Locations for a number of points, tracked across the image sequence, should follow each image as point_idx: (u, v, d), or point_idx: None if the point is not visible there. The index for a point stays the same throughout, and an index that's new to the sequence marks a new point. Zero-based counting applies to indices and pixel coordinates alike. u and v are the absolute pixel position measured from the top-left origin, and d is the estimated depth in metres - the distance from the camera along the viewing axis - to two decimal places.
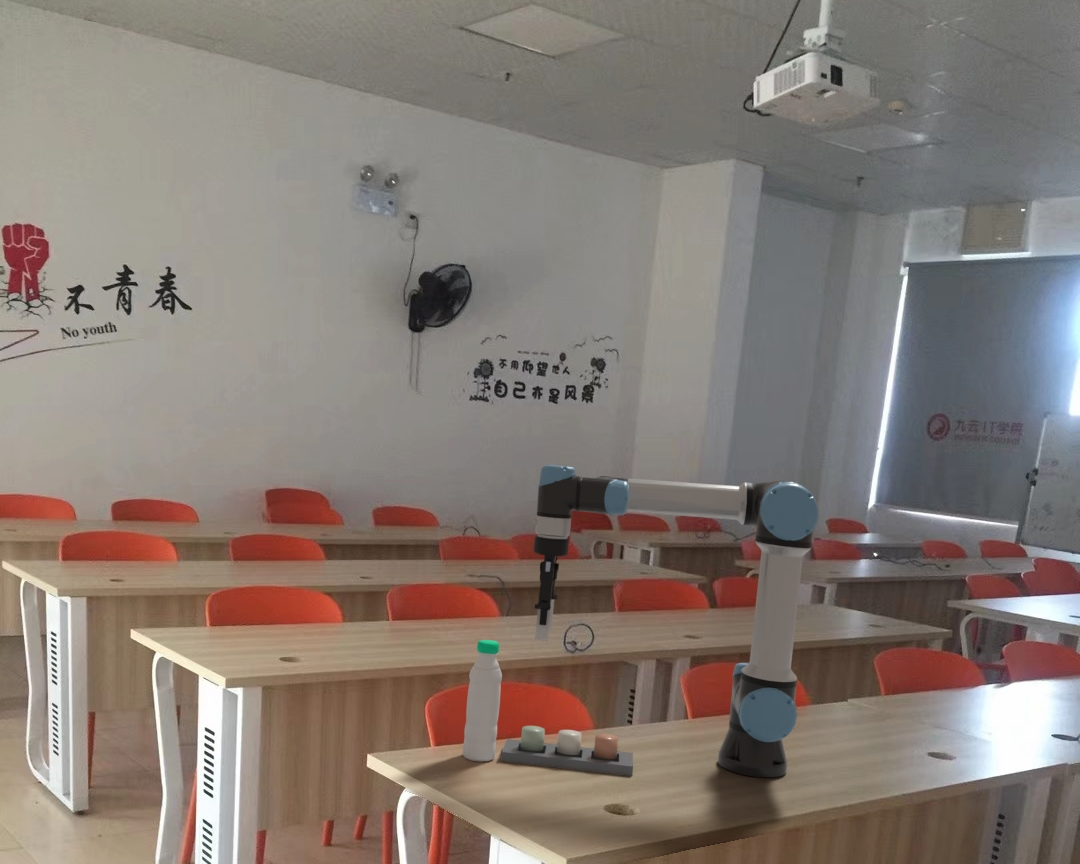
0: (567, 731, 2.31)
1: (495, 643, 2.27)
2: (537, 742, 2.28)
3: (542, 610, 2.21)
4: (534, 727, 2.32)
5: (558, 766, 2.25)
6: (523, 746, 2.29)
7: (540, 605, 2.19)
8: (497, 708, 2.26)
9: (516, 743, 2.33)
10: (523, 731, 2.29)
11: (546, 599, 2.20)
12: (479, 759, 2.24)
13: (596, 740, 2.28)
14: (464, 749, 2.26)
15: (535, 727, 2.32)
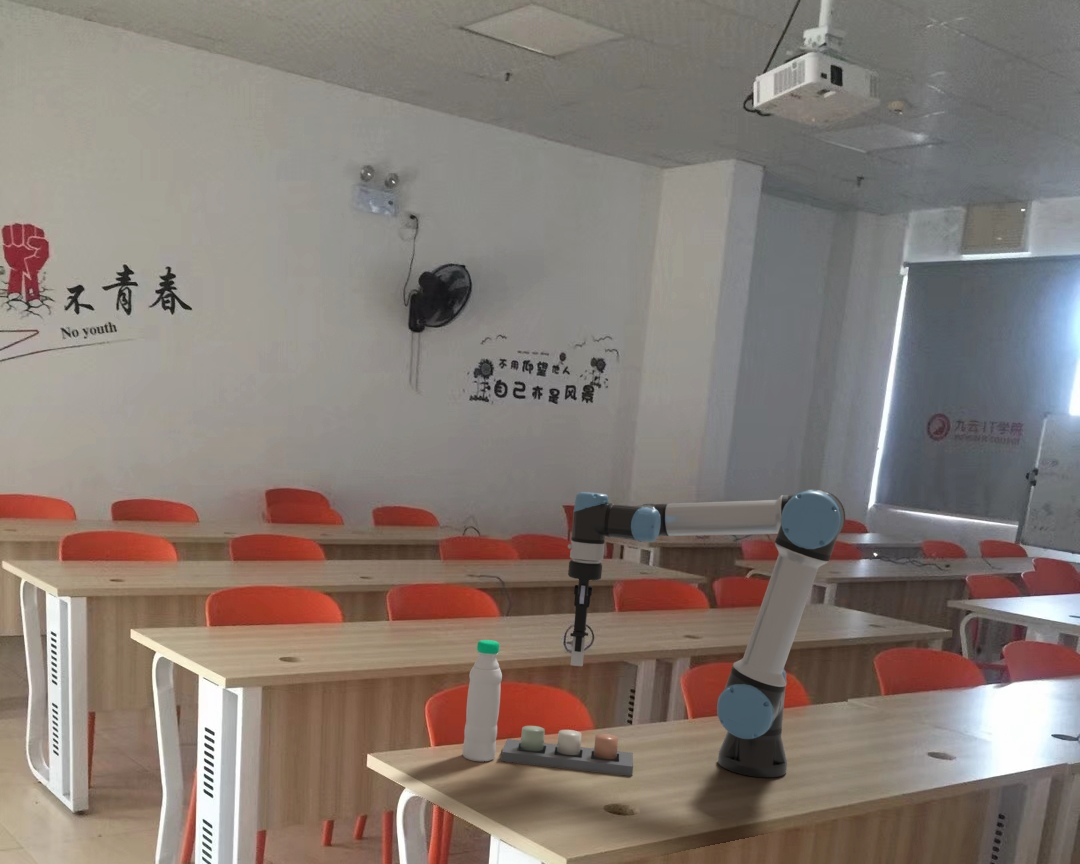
0: (567, 731, 2.31)
1: (495, 643, 2.27)
2: (537, 742, 2.28)
3: (577, 638, 2.37)
4: (534, 727, 2.32)
5: (558, 766, 2.25)
6: (523, 746, 2.29)
7: (575, 633, 2.35)
8: (497, 708, 2.26)
9: (516, 743, 2.33)
10: (523, 731, 2.29)
11: (581, 630, 2.35)
12: (479, 759, 2.24)
13: (596, 740, 2.28)
14: (464, 749, 2.26)
15: (535, 727, 2.32)
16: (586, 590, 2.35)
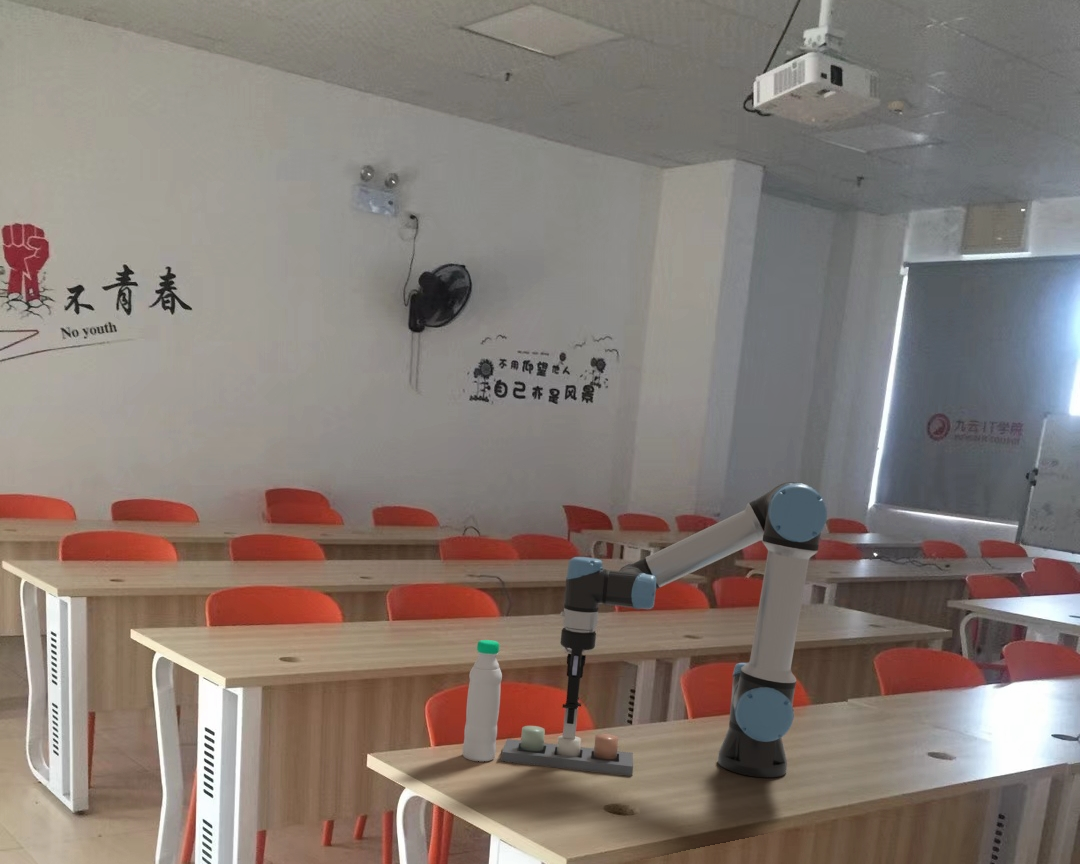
0: None
1: (495, 643, 2.27)
2: (537, 742, 2.28)
3: (570, 709, 2.28)
4: (534, 727, 2.32)
5: (558, 766, 2.25)
6: (523, 746, 2.29)
7: (568, 705, 2.26)
8: (497, 708, 2.26)
9: (516, 743, 2.33)
10: (523, 731, 2.29)
11: (573, 702, 2.26)
12: (479, 759, 2.24)
13: (596, 740, 2.28)
14: (464, 749, 2.26)
15: (535, 727, 2.32)
16: (579, 661, 2.26)
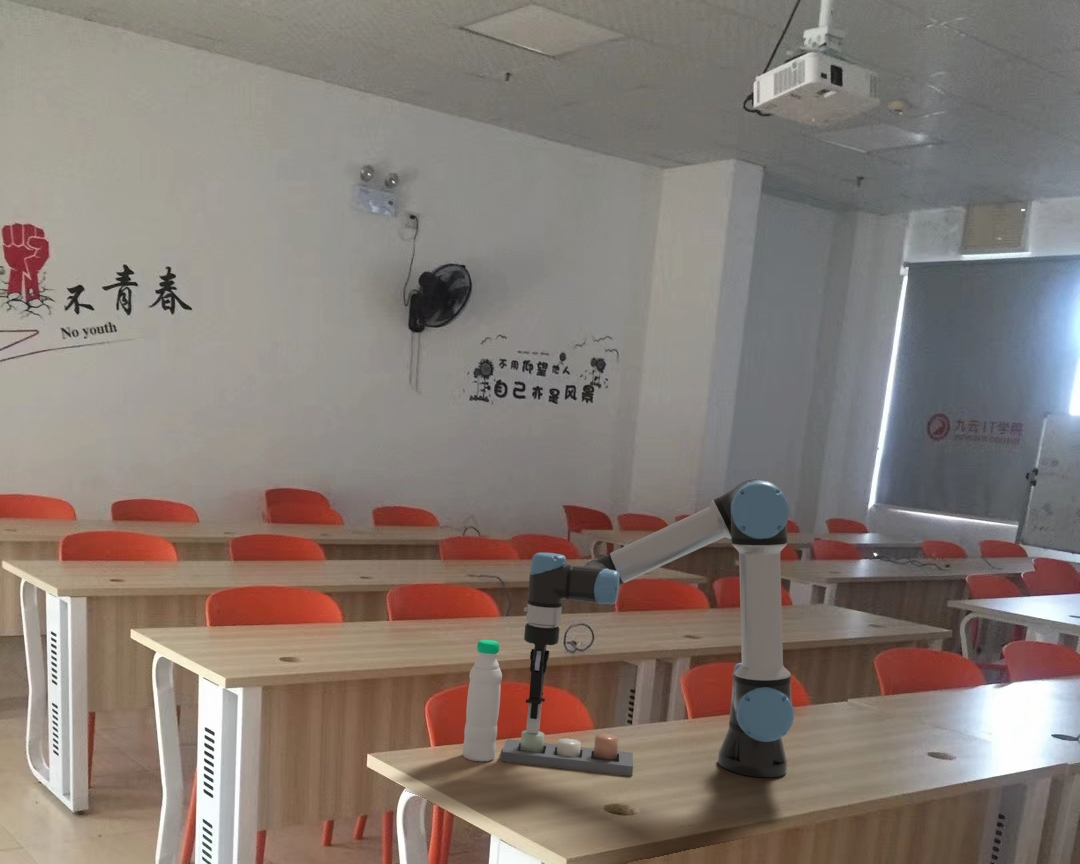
0: (566, 740, 2.31)
1: (495, 643, 2.27)
2: (536, 746, 2.28)
3: (533, 704, 2.29)
4: None
5: (558, 766, 2.25)
6: (523, 750, 2.29)
7: (531, 700, 2.27)
8: (497, 708, 2.26)
9: (516, 743, 2.33)
10: (523, 735, 2.29)
11: (536, 697, 2.27)
12: (479, 759, 2.24)
13: (596, 740, 2.28)
14: (464, 749, 2.26)
15: None
16: (542, 656, 2.27)
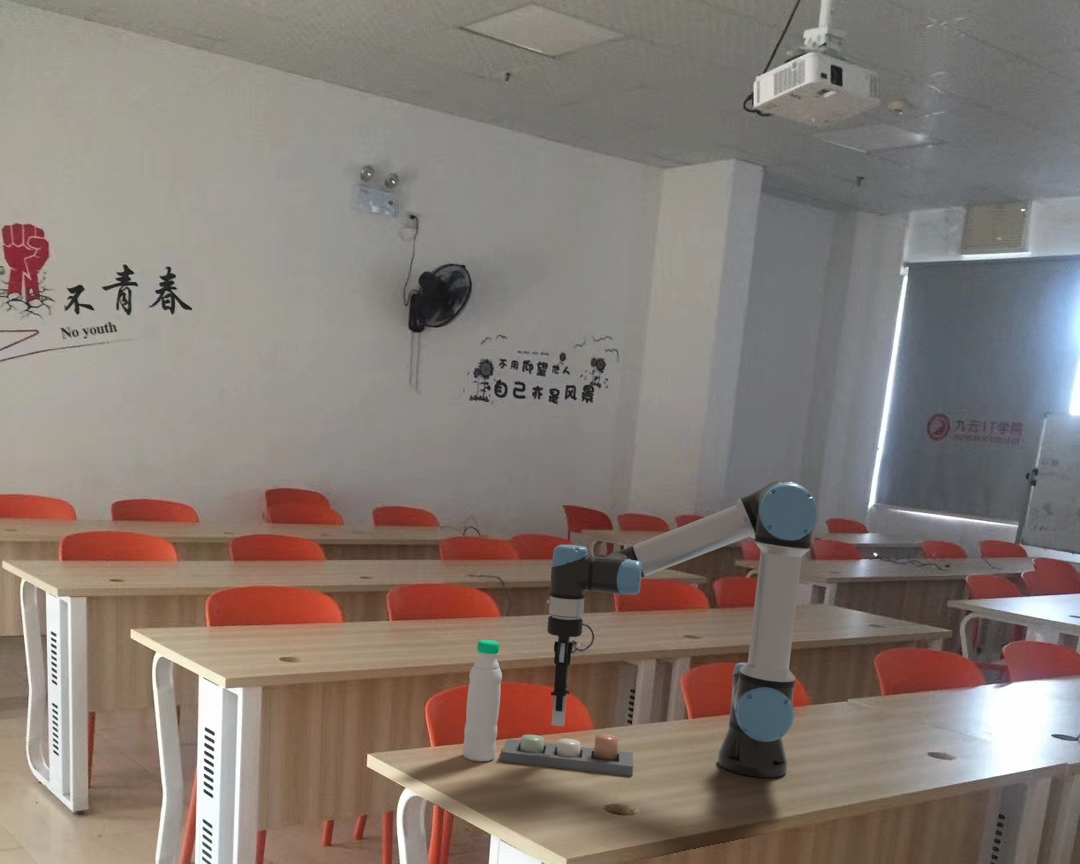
0: (566, 740, 2.31)
1: (495, 643, 2.27)
2: (536, 751, 2.28)
3: (558, 697, 2.28)
4: (533, 736, 2.32)
5: (558, 766, 2.25)
6: None
7: (556, 693, 2.27)
8: (497, 708, 2.26)
9: (516, 743, 2.33)
10: (522, 740, 2.29)
11: (561, 689, 2.26)
12: (479, 759, 2.24)
13: (596, 740, 2.28)
14: (464, 749, 2.26)
15: (534, 736, 2.32)
16: (566, 648, 2.26)
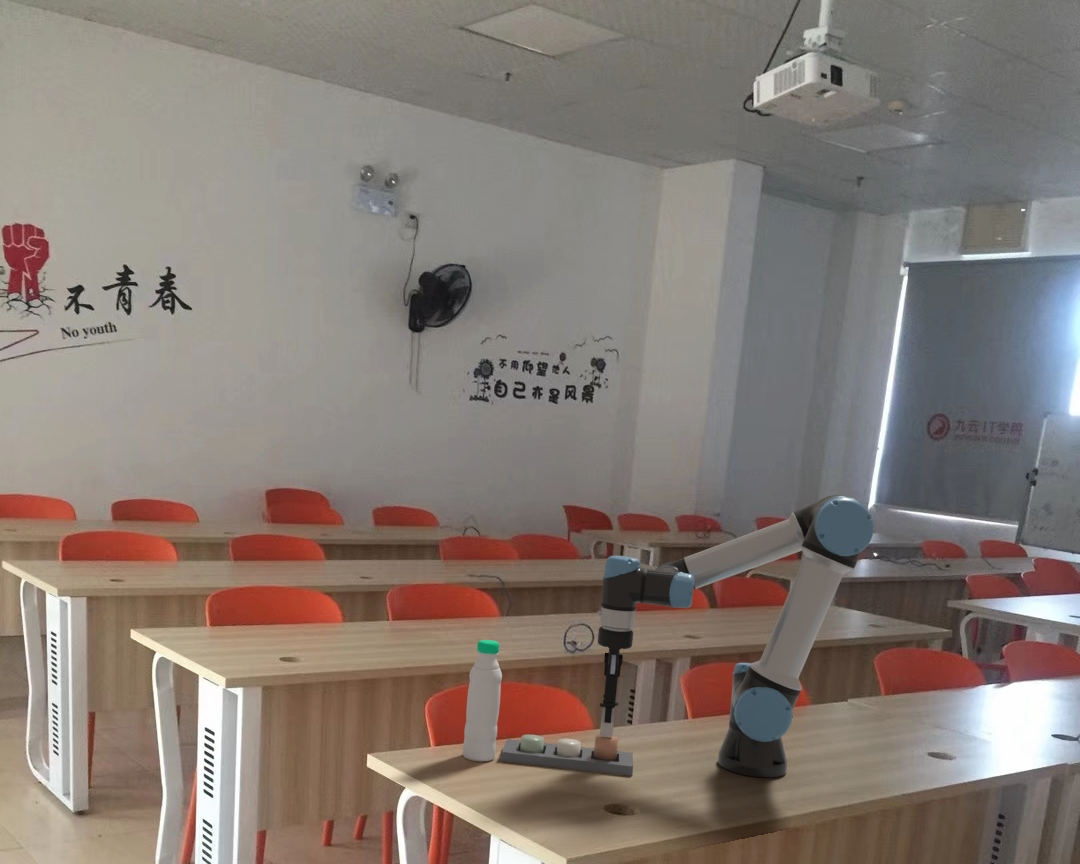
0: (566, 740, 2.31)
1: (495, 643, 2.27)
2: (536, 751, 2.28)
3: (607, 708, 2.27)
4: (533, 736, 2.32)
5: (558, 766, 2.25)
6: None
7: (605, 704, 2.26)
8: (497, 708, 2.26)
9: (516, 743, 2.33)
10: (522, 740, 2.29)
11: (611, 701, 2.25)
12: (479, 759, 2.24)
13: (596, 740, 2.28)
14: (464, 749, 2.26)
15: (534, 736, 2.32)
16: (617, 660, 2.25)
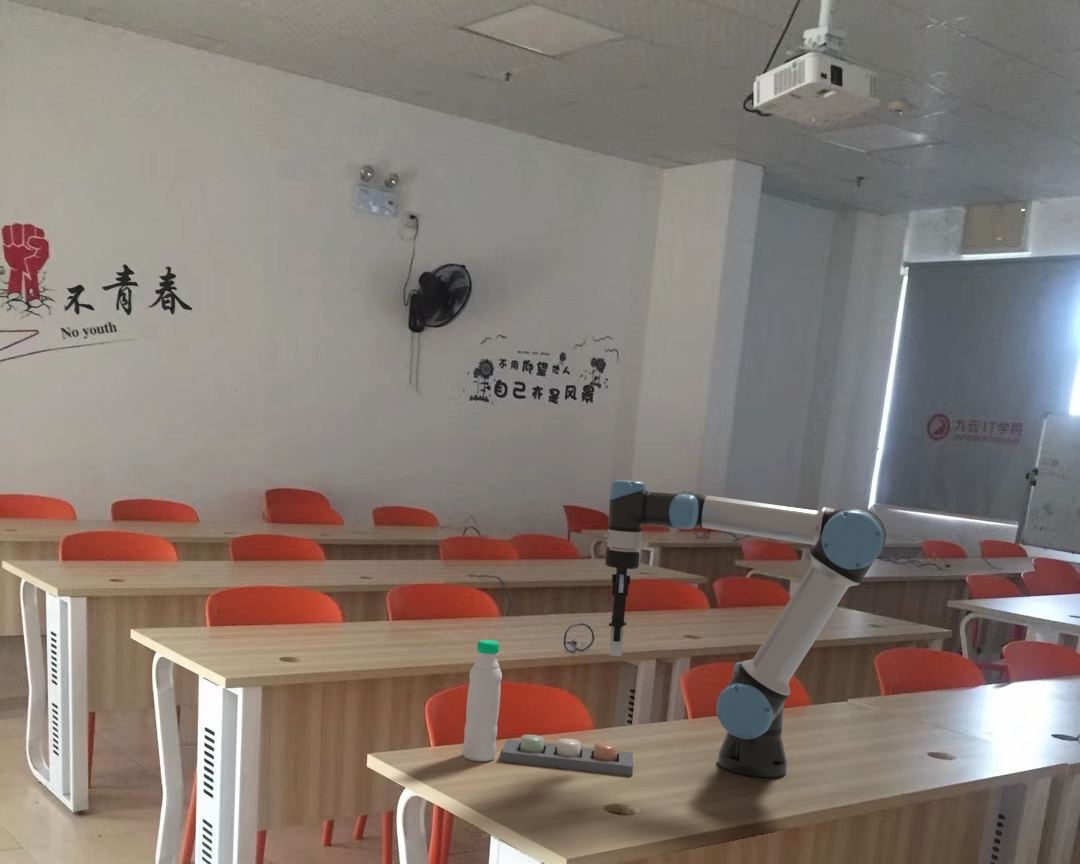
0: (566, 740, 2.31)
1: (495, 643, 2.27)
2: (536, 751, 2.28)
3: (616, 627, 2.34)
4: (533, 736, 2.32)
5: (558, 766, 2.25)
6: None
7: (615, 623, 2.33)
8: (497, 708, 2.26)
9: (516, 743, 2.33)
10: (522, 740, 2.29)
11: (620, 619, 2.32)
12: (479, 759, 2.24)
13: (595, 749, 2.28)
14: (464, 749, 2.26)
15: (534, 736, 2.32)
16: (625, 579, 2.32)
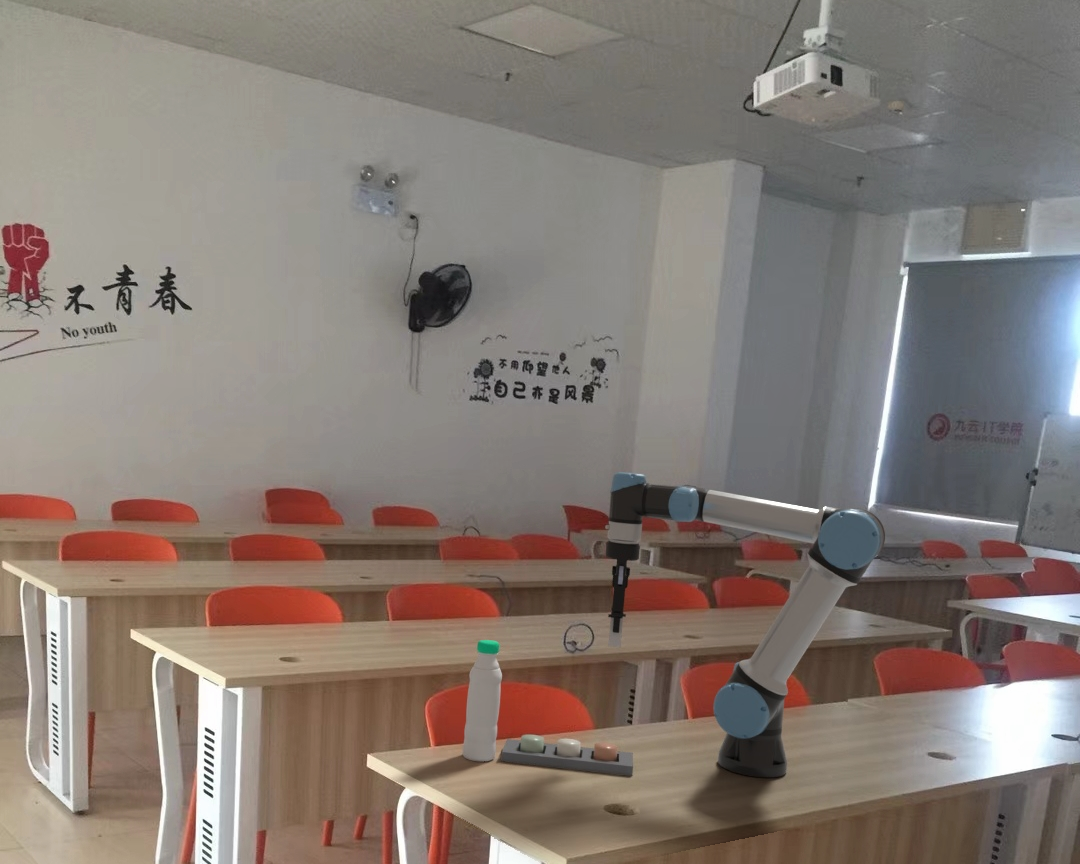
0: (566, 740, 2.31)
1: (495, 643, 2.27)
2: (536, 751, 2.28)
3: (615, 618, 2.36)
4: (533, 736, 2.32)
5: (558, 766, 2.25)
6: None
7: (614, 614, 2.34)
8: (497, 708, 2.26)
9: (516, 743, 2.33)
10: (522, 740, 2.29)
11: (619, 610, 2.34)
12: (479, 759, 2.24)
13: (595, 749, 2.28)
14: (464, 749, 2.26)
15: (534, 736, 2.32)
16: (624, 570, 2.33)
